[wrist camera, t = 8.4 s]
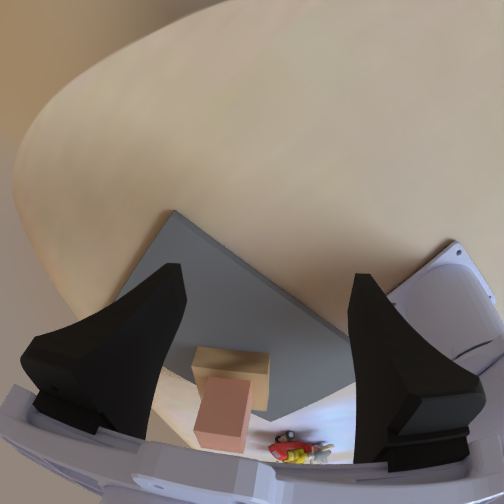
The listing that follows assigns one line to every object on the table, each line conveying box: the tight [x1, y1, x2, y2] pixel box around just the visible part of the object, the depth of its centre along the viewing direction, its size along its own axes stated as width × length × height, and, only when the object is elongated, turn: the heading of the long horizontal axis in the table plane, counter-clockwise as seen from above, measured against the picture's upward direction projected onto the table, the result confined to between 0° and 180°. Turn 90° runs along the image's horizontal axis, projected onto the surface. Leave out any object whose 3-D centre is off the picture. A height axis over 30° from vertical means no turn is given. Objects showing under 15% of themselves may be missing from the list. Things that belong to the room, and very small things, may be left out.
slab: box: [191, 346, 270, 411], centre depth 30 cm, size 7×7×2 cm
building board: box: [113, 211, 356, 422], centre depth 30 cm, size 24×17×1 cm
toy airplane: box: [268, 431, 334, 464], centre depth 38 cm, size 9×9×6 cm
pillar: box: [193, 376, 252, 454], centre depth 26 cm, size 4×4×6 cm
